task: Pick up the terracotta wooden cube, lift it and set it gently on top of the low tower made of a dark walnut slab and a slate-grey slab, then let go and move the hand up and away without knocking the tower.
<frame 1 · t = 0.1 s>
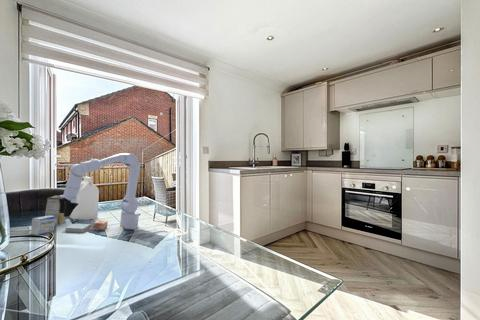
hand: (64, 214, 113), 11 cm above the table, tool pointing down, fingers open, 7 cm apart
coffee box: (54, 226, 127), on the table
milk: (83, 217, 147), on the table
top block: (78, 229, 120), point 1 cm above the table, touching bottom block
medicine box: (42, 235, 112), on the table
terracotta cube: (99, 231, 126), on the table
bottom block: (77, 233, 120), on the table, touching top block
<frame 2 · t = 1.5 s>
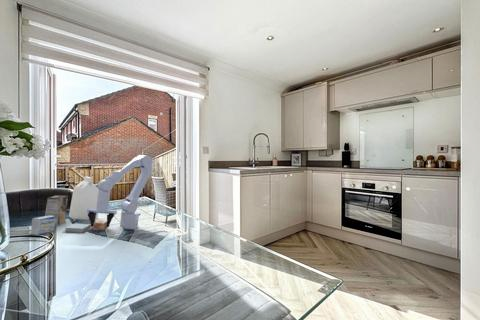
hand: (100, 226, 126), 2 cm above the table, tool pointing down, fingers open, 7 cm apart
nothing on the table moved.
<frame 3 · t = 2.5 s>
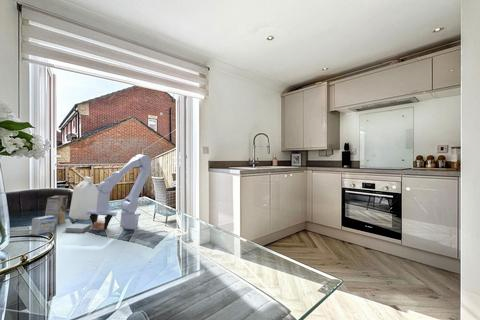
hand: (100, 228, 126), 1 cm above the table, tool pointing down, fingers closed on terracotta cube, 5 cm apart
terracotta cube: (99, 230, 126), on the table, touching gripper
everything else where it was.
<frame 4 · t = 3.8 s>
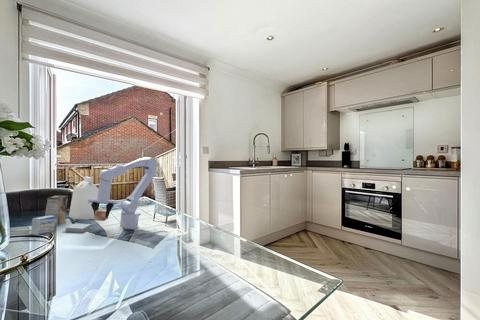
hand: (101, 216, 126), 8 cm above the table, tool pointing down, fingers closed on terracotta cube, 5 cm apart
terracotta cube: (101, 219, 126), point 6 cm above the table, touching gripper
everything else where it was.
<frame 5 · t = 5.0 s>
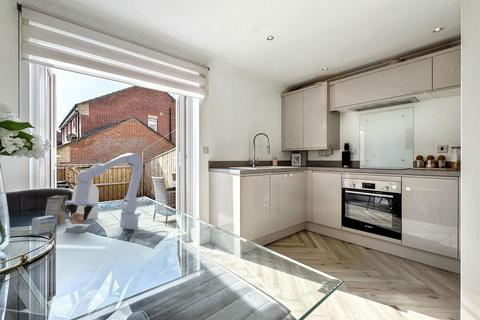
hand: (79, 219, 121), 7 cm above the table, tool pointing down, fingers closed on terracotta cube, 5 cm apart
terracotta cube: (79, 222, 121), point 5 cm above the table, touching gripper
everything else where it was.
when the fingers open (6 cm above the table, at t = 5.5 s): terracotta cube drops 2 cm, resting on top block.
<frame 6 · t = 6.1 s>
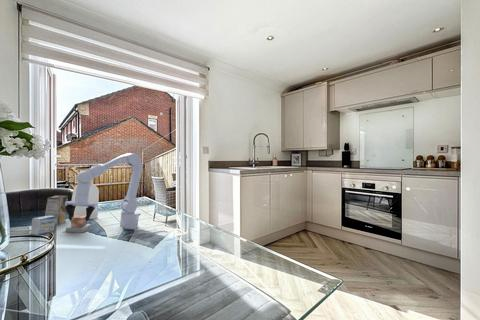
hand: (79, 220, 121), 6 cm above the table, tool pointing down, fingers open, 7 cm apart
top block: (78, 229, 121), point 1 cm above the table, touching bottom block, terracotta cube
terracotta cube: (78, 226, 120), point 3 cm above the table, touching top block
everything else where it was.
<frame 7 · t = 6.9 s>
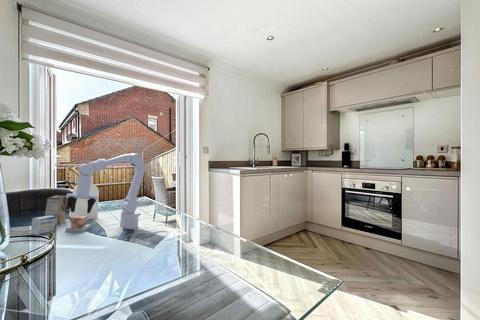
hand: (80, 212, 121), 10 cm above the table, tool pointing down, fingers open, 7 cm apart
nothing on the table moved.
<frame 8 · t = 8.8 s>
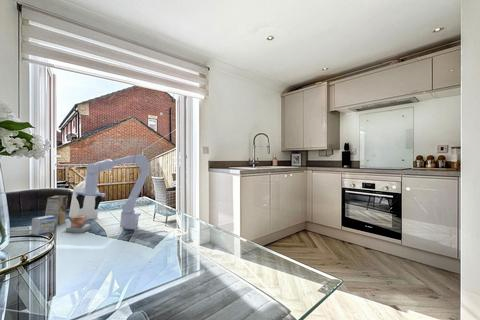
hand: (88, 208, 130), 10 cm above the table, tool pointing down, fingers open, 7 cm apart
top block: (78, 229, 121), point 1 cm above the table, touching bottom block
terracotta cube: (77, 226, 120), point 3 cm above the table
everything else where it was.
at the end: terracotta cube 0.4 cm off-centre on the top block, point 2.0 cm above the top block's base; terracotta cube tilted 1°; top block moved 0.9 cm from its start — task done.
